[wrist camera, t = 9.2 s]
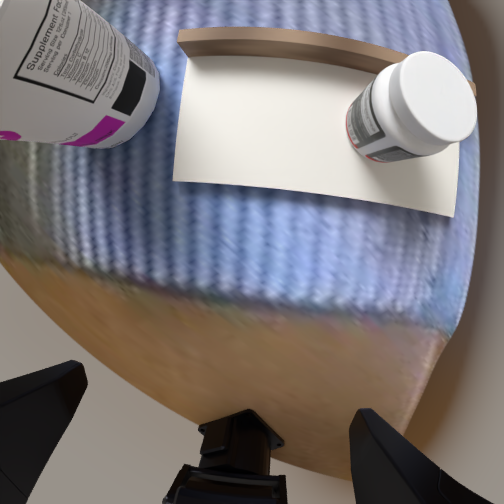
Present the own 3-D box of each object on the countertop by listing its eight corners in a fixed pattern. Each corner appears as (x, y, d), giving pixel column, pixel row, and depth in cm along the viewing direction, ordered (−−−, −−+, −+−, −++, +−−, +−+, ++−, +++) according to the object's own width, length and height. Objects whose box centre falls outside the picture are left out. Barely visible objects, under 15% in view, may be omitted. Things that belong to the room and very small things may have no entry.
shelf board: (449, 94, 15) (475, 83, 12) (445, 215, 18) (472, 222, 14) (194, 52, 16) (179, 29, 13) (178, 181, 19) (157, 180, 15)
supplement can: (115, 170, 19) (-65, 177, 4) (64, 115, 18) (-78, 95, 4) (185, 86, 17) (49, -34, 3) (122, 41, 16) (3, -40, 2)
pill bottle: (419, 128, 15) (496, 104, 7) (385, 178, 16) (459, 176, 8) (367, 82, 15) (421, 25, 7) (329, 130, 16) (370, 88, 8)
